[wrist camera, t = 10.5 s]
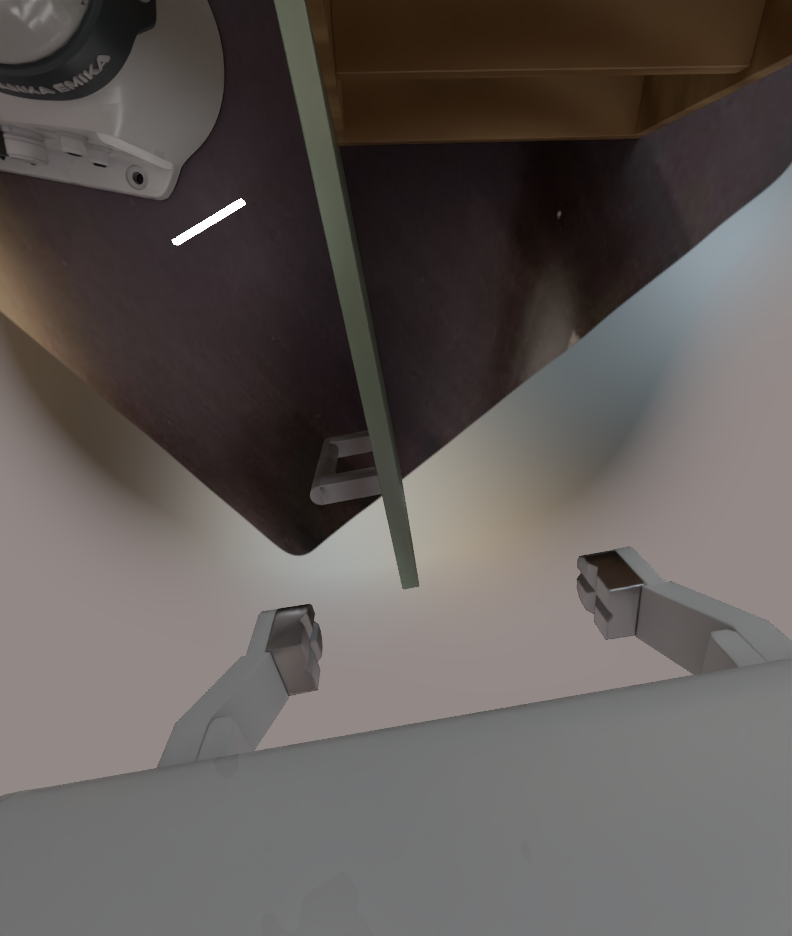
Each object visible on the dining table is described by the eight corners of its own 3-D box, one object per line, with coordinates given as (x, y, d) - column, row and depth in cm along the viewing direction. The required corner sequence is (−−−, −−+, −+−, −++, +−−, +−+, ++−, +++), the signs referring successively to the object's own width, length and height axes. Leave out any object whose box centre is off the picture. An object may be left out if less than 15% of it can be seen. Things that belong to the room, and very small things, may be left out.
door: (334, 451, 46) (306, 607, 25) (261, 171, 35) (94, 14, 14) (395, 440, 46) (419, 586, 25) (341, 155, 35) (298, -30, 13)
